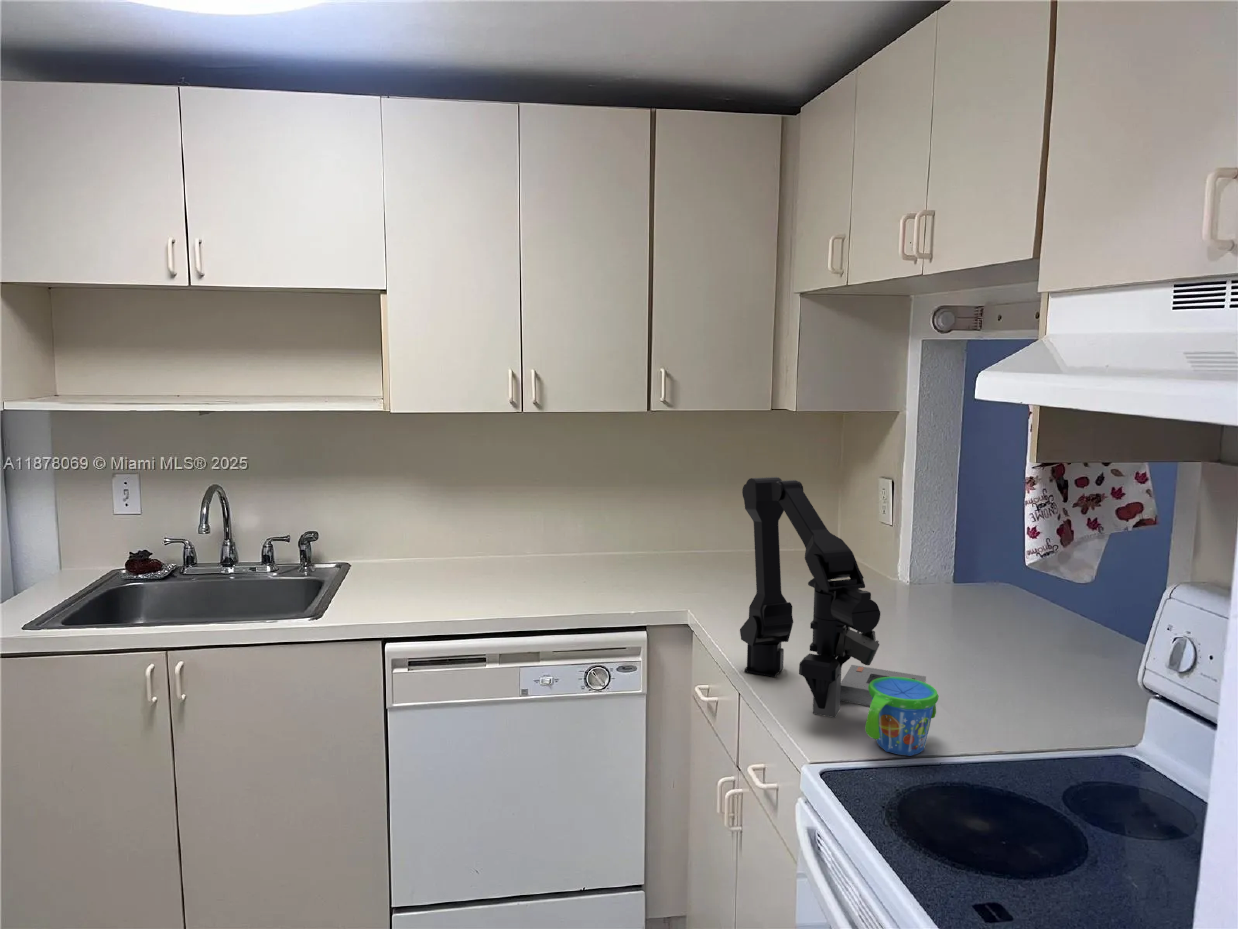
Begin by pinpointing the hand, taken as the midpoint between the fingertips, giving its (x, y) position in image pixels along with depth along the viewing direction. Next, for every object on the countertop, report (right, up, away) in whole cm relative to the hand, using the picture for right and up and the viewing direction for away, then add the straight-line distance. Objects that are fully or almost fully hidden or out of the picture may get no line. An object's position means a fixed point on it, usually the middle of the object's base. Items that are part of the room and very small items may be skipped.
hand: (826, 700), depth 153 cm
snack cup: (+9, -4, -14) cm, 17 cm away
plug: (0, -2, 0) cm, 2 cm away
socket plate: (+12, -1, +7) cm, 15 cm away
